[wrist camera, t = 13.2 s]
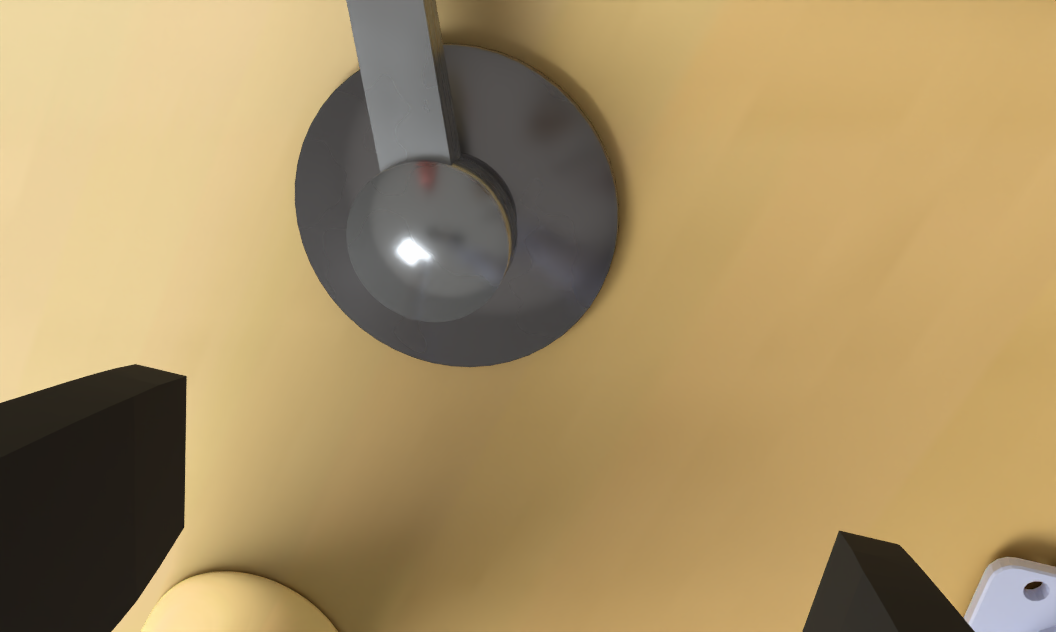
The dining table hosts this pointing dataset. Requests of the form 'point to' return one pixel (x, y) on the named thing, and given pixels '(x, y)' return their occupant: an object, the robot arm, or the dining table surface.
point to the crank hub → (524, 174)
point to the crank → (421, 177)
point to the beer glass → (234, 606)
